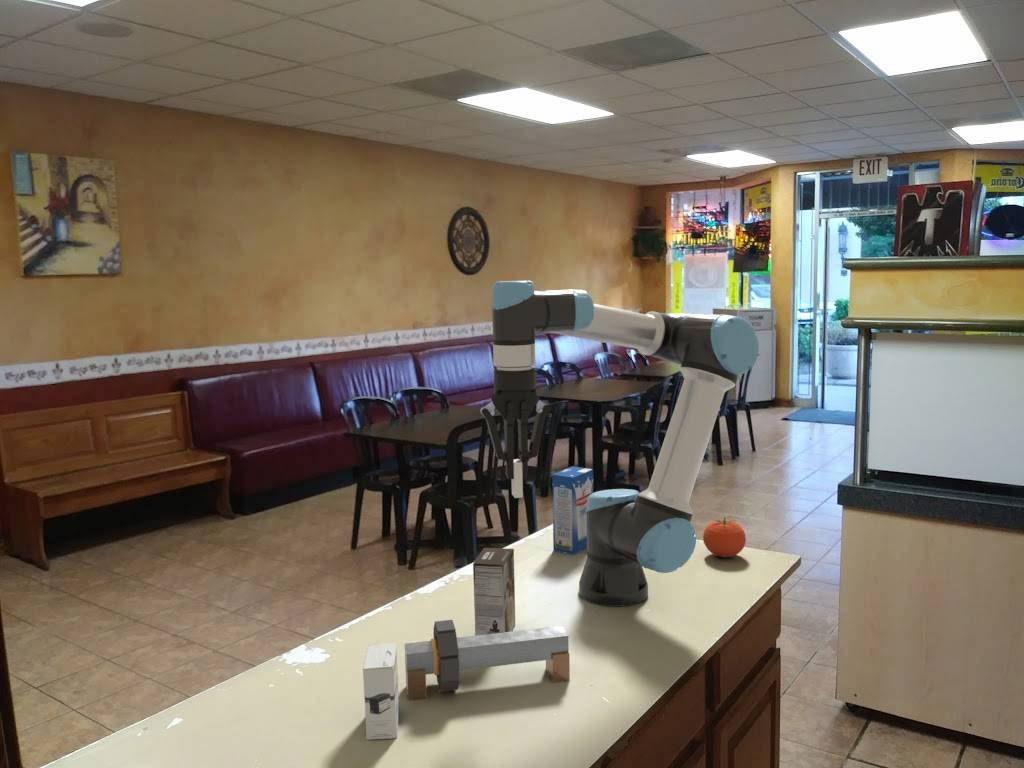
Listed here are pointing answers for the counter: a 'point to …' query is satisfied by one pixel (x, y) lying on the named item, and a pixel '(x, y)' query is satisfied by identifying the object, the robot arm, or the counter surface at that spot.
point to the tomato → (724, 538)
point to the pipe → (490, 655)
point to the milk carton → (571, 509)
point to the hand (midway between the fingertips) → (517, 495)
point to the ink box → (381, 691)
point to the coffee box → (494, 591)
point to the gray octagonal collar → (447, 655)
